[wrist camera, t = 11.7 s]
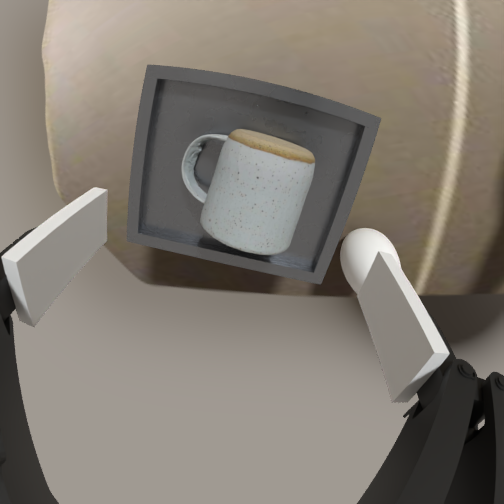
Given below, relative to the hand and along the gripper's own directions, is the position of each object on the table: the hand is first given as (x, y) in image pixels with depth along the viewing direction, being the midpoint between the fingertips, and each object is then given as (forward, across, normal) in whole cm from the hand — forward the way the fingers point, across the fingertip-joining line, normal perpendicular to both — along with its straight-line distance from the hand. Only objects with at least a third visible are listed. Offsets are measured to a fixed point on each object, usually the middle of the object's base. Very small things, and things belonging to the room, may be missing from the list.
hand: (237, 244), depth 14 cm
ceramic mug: (+15, +1, +1) cm, 15 cm away
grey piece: (+28, +1, +1) cm, 29 cm away
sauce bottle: (+29, -18, +10) cm, 35 cm away
